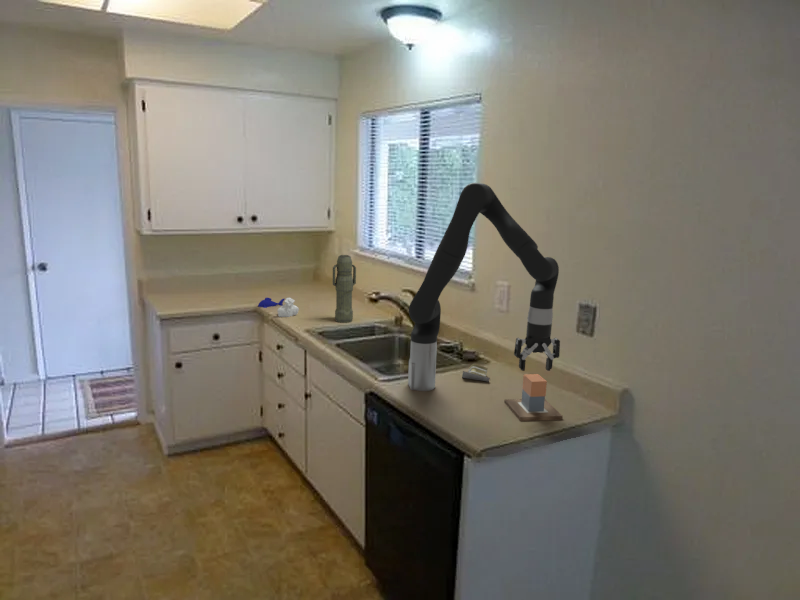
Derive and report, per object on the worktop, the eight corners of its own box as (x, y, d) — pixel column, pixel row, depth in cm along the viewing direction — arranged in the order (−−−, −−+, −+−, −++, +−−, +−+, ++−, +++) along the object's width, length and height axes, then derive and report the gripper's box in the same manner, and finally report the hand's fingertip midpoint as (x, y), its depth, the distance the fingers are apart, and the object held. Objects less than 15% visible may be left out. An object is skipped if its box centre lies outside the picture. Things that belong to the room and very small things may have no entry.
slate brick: (528, 411, 183) (529, 396, 182) (521, 403, 190) (522, 388, 189) (543, 411, 184) (544, 396, 183) (535, 403, 190) (537, 388, 189)
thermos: (358, 324, 294) (359, 256, 287) (336, 326, 288) (337, 257, 281) (350, 320, 302) (351, 254, 295) (329, 322, 296) (330, 254, 289)
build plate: (519, 420, 179) (520, 416, 178) (504, 402, 193) (504, 399, 193) (562, 419, 181) (562, 415, 180) (543, 401, 195) (544, 398, 195)
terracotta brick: (530, 396, 182) (531, 381, 181) (522, 389, 189) (523, 374, 188) (545, 396, 183) (546, 381, 182) (536, 388, 189) (538, 374, 188)
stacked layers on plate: (486, 390, 218) (489, 378, 221) (489, 378, 211) (492, 365, 214) (460, 383, 219) (464, 371, 223) (463, 371, 212) (466, 359, 216)
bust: (295, 315, 310) (295, 294, 308) (301, 318, 304) (301, 297, 302) (274, 317, 303) (274, 296, 301) (280, 320, 297) (279, 299, 295)
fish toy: (259, 311, 317) (259, 299, 316) (256, 308, 324) (256, 296, 322) (286, 309, 323) (286, 297, 322) (283, 306, 330) (283, 295, 329)
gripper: (522, 323, 176) (517, 374, 179) (566, 324, 178) (561, 373, 182) (514, 318, 183) (510, 366, 187) (556, 318, 186) (551, 366, 189)
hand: (535, 370), depth 184 cm, fingers open, 8 cm apart
